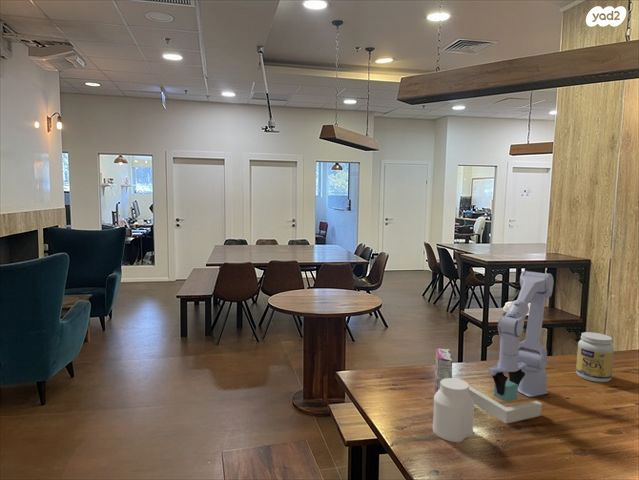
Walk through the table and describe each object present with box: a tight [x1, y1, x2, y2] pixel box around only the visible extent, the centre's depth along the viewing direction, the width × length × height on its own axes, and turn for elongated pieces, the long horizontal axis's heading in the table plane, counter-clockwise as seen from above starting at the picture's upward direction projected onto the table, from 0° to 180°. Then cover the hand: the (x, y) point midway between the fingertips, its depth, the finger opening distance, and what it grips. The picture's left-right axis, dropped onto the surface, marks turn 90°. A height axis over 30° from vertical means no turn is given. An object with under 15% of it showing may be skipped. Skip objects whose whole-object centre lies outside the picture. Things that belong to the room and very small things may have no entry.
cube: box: [493, 379, 519, 403], centre depth 144 cm, size 5×5×5 cm
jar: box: [432, 377, 475, 443], centre depth 129 cm, size 12×10×15 cm
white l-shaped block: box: [469, 385, 543, 425], centre depth 147 cm, size 15×20×4 cm
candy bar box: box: [434, 347, 453, 395], centre depth 151 cm, size 11×5×16 cm, turn 168°
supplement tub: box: [575, 331, 615, 383], centre depth 172 cm, size 12×12×17 cm
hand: (506, 392), depth 144 cm, fingers closed on cube, 5 cm apart
